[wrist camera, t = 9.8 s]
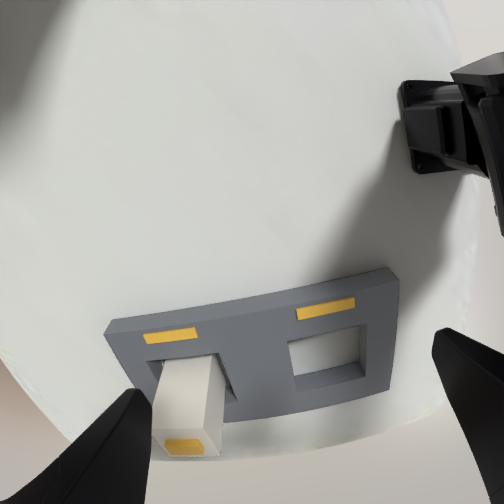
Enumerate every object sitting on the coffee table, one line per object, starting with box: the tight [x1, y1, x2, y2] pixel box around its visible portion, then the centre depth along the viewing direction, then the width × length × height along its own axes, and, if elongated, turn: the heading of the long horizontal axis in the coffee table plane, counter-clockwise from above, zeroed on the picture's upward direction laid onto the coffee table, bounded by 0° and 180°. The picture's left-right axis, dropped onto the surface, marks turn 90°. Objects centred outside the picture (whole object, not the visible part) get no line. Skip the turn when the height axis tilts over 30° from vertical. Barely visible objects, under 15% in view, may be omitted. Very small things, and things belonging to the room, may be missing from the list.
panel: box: [103, 268, 399, 423], centre depth 23 cm, size 22×12×2 cm, turn 102°
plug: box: [152, 353, 226, 457], centre depth 20 cm, size 4×4×9 cm
